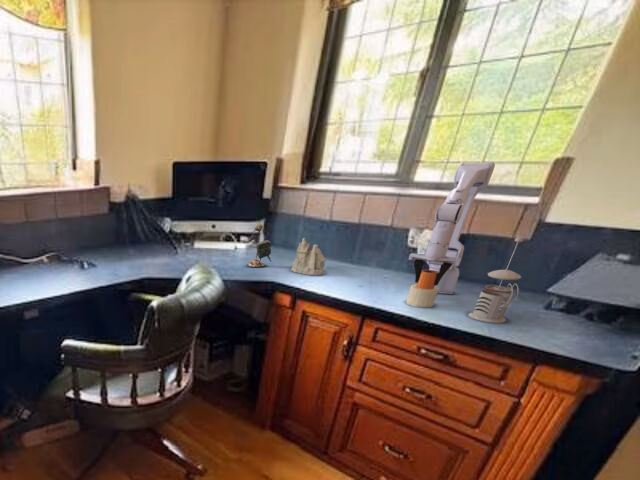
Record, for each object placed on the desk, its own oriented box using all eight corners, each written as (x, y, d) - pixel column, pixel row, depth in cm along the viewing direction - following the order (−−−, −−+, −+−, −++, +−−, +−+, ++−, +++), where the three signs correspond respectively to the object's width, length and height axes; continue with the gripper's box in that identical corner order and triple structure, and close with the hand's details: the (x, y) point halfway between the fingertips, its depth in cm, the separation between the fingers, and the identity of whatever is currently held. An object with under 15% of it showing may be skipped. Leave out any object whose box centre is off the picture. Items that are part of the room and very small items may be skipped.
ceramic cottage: (315, 276, 183) (322, 240, 177) (283, 270, 195) (289, 237, 189) (335, 272, 192) (342, 238, 185) (303, 267, 204) (309, 235, 197)
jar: (429, 301, 151) (435, 284, 148) (436, 308, 145) (442, 291, 142) (403, 299, 154) (408, 283, 151) (409, 306, 147) (414, 289, 144)
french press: (491, 312, 140) (524, 234, 128) (518, 324, 130) (556, 241, 118) (461, 312, 140) (490, 234, 128) (485, 325, 130) (520, 241, 118)
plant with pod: (269, 268, 198) (275, 223, 188) (245, 267, 202) (250, 223, 192) (271, 264, 204) (277, 221, 195) (247, 263, 208) (252, 220, 199)
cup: (431, 285, 148) (436, 270, 145) (435, 289, 143) (441, 273, 141) (414, 284, 149) (419, 269, 146) (418, 288, 145) (423, 272, 142)
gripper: (411, 242, 141) (399, 282, 147) (463, 247, 132) (448, 289, 139) (416, 239, 145) (405, 278, 152) (467, 243, 137) (453, 285, 143)
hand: (426, 283), depth 146 cm, fingers closed on cup, 5 cm apart
